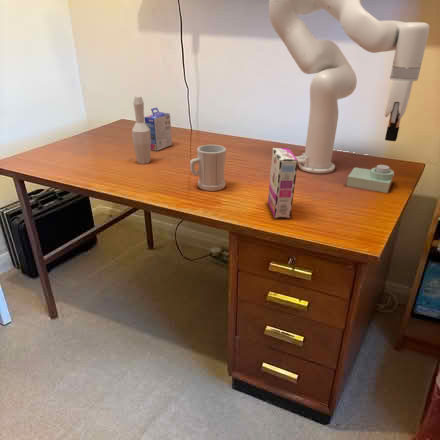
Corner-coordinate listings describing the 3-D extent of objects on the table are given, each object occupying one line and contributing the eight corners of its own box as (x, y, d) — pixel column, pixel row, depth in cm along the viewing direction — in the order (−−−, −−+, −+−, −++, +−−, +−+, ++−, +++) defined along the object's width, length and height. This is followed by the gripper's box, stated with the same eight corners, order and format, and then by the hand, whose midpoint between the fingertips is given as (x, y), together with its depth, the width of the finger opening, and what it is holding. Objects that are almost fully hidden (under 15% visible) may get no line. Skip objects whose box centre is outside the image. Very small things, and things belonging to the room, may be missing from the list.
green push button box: (346, 185, 141) (348, 170, 139) (352, 176, 149) (355, 161, 146) (387, 193, 137) (391, 177, 134) (392, 182, 144) (395, 168, 141)
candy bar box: (292, 218, 120) (298, 159, 111) (274, 219, 120) (279, 160, 111) (283, 202, 130) (289, 147, 120) (267, 203, 129) (271, 147, 120)
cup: (213, 195, 134) (213, 156, 127) (188, 189, 138) (187, 151, 131) (230, 184, 141) (231, 147, 134) (207, 179, 145) (206, 142, 138)
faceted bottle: (135, 164, 156) (128, 99, 143) (134, 159, 161) (128, 95, 149) (153, 163, 157) (148, 98, 145) (151, 158, 162) (146, 94, 150)
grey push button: (374, 172, 138) (375, 167, 137) (376, 169, 141) (377, 163, 140) (387, 175, 137) (388, 169, 136) (389, 171, 140) (390, 165, 139)
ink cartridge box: (162, 143, 179) (159, 105, 171) (172, 145, 176) (170, 107, 168) (146, 148, 172) (143, 110, 164) (157, 151, 170) (154, 111, 161)
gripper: (394, 69, 130) (381, 133, 140) (387, 76, 119) (373, 144, 129) (421, 71, 127) (406, 135, 137) (416, 78, 116) (400, 148, 126)
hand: (390, 140), depth 133 cm, fingers closed
